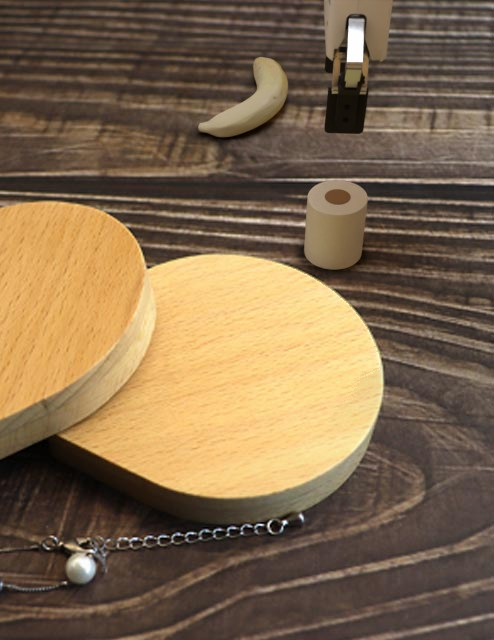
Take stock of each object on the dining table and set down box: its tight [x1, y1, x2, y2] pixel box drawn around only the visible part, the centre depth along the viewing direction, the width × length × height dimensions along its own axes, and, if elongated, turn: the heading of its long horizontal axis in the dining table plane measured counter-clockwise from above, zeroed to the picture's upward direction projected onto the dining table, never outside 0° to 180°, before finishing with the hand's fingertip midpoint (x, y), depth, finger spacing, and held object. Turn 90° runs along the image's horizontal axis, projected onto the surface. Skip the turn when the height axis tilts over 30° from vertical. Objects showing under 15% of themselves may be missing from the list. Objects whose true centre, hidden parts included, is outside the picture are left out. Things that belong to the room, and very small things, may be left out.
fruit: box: [198, 56, 289, 138], centre depth 119 cm, size 7×15×3 cm, turn 148°
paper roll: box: [303, 179, 369, 271], centre depth 98 cm, size 6×6×7 cm
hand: (342, 100), depth 89 cm, fingers open, 9 cm apart
